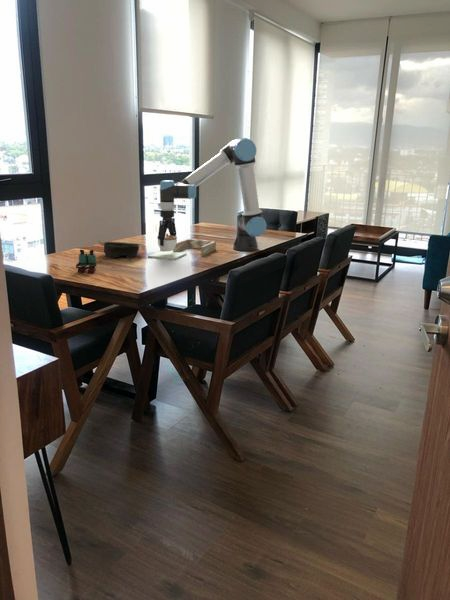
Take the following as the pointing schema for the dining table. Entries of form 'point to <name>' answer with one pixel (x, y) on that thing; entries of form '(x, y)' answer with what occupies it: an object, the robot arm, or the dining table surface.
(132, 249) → the stone bowl
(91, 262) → the binoculars
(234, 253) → the dining table surface
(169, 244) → the lidded jar
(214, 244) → the cubby
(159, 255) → the pad
